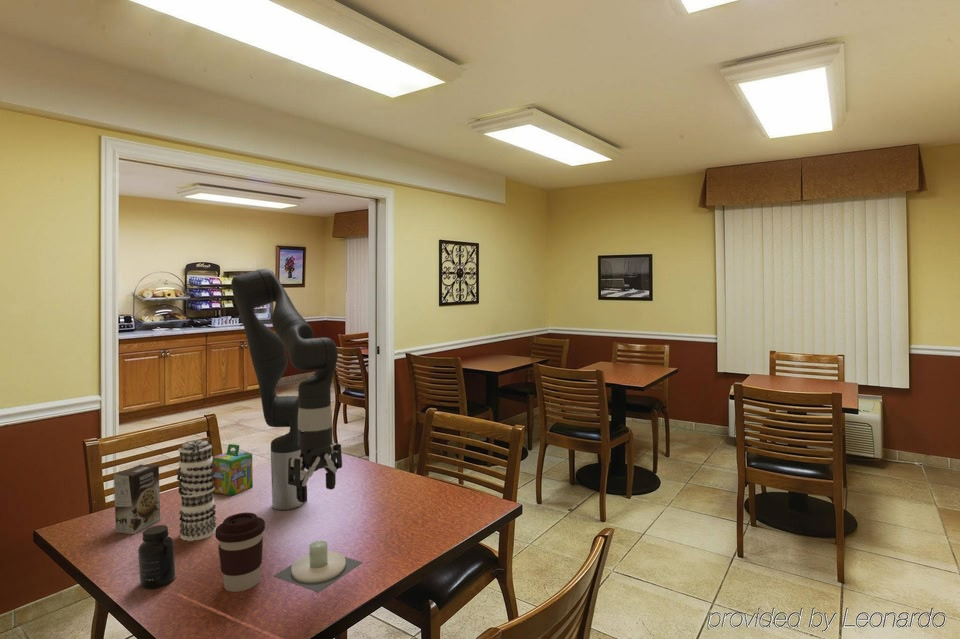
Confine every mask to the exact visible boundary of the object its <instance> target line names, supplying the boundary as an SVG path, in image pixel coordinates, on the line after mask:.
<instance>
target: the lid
mask: <svg viewBox="0 0 960 639" xmlns="http://www.w3.org/2000/svg"><path fill="white" fill-rule="evenodd" d="M308 549H309V553H308V554H305V555H303V556H301V557H299V558H298V559H296V560H295V561H294V562H293V565H292V564H291V565H292V568H291V572H292V577H293V578H294V579H295V580H297V581H299V582H303V583H319V582H324V581H327V580H330V579H333V578H335V577H337V576H338V575H340V574H341V573H342V572H343V571H344V569H345V567H346V560H345V557H346V556H344V555H343V554H341V553H340V552H338V551H331V550H328V542H327V541H324V540H316V541H313V542H311V543H310V544H309V546H308Z"/></svg>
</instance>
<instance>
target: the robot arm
mask: <svg viewBox="0 0 960 639" xmlns="http://www.w3.org/2000/svg"><path fill="white" fill-rule="evenodd" d="M230 287H231V291H232V294H233V297H234V300H235V301H234V302H235V305H236V307H237V310H238V313H239V317H240V319H241V322H242V325H243V327H244V328H243V329H244V333H245V336H246V340H247V341H246V342H247V345H248V349H249V354H250V358H251V362H252V366H253V370H254V372H255V376H256V380H257V383H258V386H259V387H258V388H259V394H260V400H261V406H262V413H263V417H264V421H265V423H266V425H267V426H269V427H272V428H289V432H287V433H285V434H283V435H280V436H278V437H276V438H274V439H273V440H271V442H270V467H271V469H270V470H271V474H270V476H271V503H272V504H271V505H272V506H271V507H272V508H273V509H275V510H277V511H285V510H287V511H288V510H293V509H296V508H299V507H301V506H303V505H304V504H305V503H306V502H307V501H308V485H307V484H308V481H309V479H310V478H311V477H312V476H313V474H314V472H317V471H319V470H320V469H323V470H325V488H326V490H334V489H335V488H336V484H337V482H336V481H337V480H336V479H337V478H336V475H337V474H336V473H337V471H338V470H339V469H342V468H343V458H342V456H343V455H342V445H341V444H340V443H338V442H337V443H335V442H334V440H333V439H334V437H333V435H334V434H333V411H332V405H331V404H332V403H331V402H332V401H331V393H332V391H331V387H332V382H333V378H334V374H335V370H336V366H337V364H338V359H339V358H338V356H339V354H338V353H339V352H338V347H337V344H336V343H335V341H334V339H331V338H329V337H317V338H315V337H314V330H313V328H312V327H311V325H310V324H309V323H308V321H307V320H306V319H305V318H304V317H303V316H302V315H301V313H300V312H299V311H298V309H297V308H296V307H295V306H294V304H293V301H292V300H291V298H290V297H289V295H288V293H287V291H286V290H285V288H284V286H283V284H282V283H281V281H280V279H279V278H278V277H277V275H276V274H275V272H274V271H272V270H271V269H269V268H261V269H256V270H251V271H249V272H245V273H242V274H238V275H236V276H234V277H233V278H232V279H231V286H230ZM271 303H275V305H274V309H273V312H272V317H271V325H272V328H273V330H274V331H273V330H272V328H270V327H269V326H267V325H265V324H264V323H263V322H262V321H261V320H260V319H259V318H258V317H257V316H256V313H255V309H257V308H260V307H262V306H263V307H264V306H266V305H270V304H271ZM288 363H290V364H291V367H293V368H294V369H296V370H298V371H303V372H304V371H312V370H315V372H314V374H313V376H311V377H310V378H308V379H304V380H303V381H300V383H299V385H298V386H297V387H298V390H297V391H298V394H297V395H298V396H297V395H285V396H284V395H283V396H282V395H281V396H280V395H277V394H276V387H277V386H278V383H279V381H280V380H281V379H282V377H283V375H284V374H285V372H286V370H287V367H288Z"/></svg>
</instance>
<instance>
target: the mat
mask: <svg viewBox="0 0 960 639" xmlns="http://www.w3.org/2000/svg"><path fill="white" fill-rule="evenodd" d="M344 557H345V560H346V567H345V569H344V571H343V572H342V573H341V574H340V575H338V576H337V577H335V578H333V579H330V580H327V581H324V582H319V583H303V582H299V581H297V580H295V579H294V578H293V577H292V572H291V568H292V565H293V564H291V565H289V566H288V567H286V568H284V569H283V570H281V571H279V572H277V573H275V574H274V575H273V577H275V578H277V579H280V580H282V581H286V582H289V583H291V584H294V585H297V586H300V587H303V588H305V589H308V590H311V591H313V592H316V593H321V591H323V590H324V589H327V587H329V586H330V585H332V584H334V583H335V582H336V581H338V580H340V578H342V577H344V576H346V575H347V574H348V573H350V572H351V571H352V570H354V569H356V568H357V567H358V566H359V565H361V564H363V563H364V562H363V561H359V560H356V559H353V558H351V557H347V556H344Z"/></svg>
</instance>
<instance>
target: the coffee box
mask: <svg viewBox="0 0 960 639" xmlns="http://www.w3.org/2000/svg"><path fill="white" fill-rule="evenodd" d="M113 484H114V485H113V487H114V488H113V489H114V490H113V491H114V521H115V526H114V527H115V532H116V533H121V534H122V533H123V534H130V535H135V534H138V533H139V532H141V531H144V530H146V529H147V528H150V527H152V525H154V524H157V523H158V522H160V521H161V499H160V498H161V496H160V492H161V491H160V466H159V465H157V464H139V465H135V466H133V467H131V468H128V469H124V470H122V471H119V472H116V473H114V474H113Z"/></svg>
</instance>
